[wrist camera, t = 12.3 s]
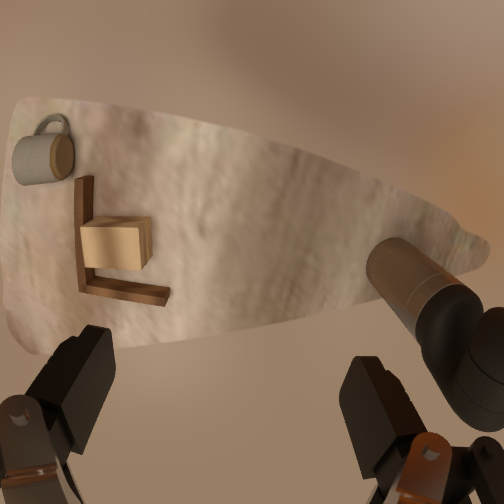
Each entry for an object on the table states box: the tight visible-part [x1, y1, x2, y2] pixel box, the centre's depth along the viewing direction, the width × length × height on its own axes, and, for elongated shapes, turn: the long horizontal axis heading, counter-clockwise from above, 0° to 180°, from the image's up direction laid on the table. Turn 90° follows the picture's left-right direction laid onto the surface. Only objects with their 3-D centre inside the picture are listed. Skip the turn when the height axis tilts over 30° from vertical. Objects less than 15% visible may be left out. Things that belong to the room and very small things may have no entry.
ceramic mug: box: [12, 114, 74, 186], centre depth 36 cm, size 11×8×8 cm
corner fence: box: [74, 176, 170, 307], centre depth 44 cm, size 15×18×4 cm
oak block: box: [80, 217, 153, 270], centre depth 42 cm, size 9×6×6 cm, turn 87°
